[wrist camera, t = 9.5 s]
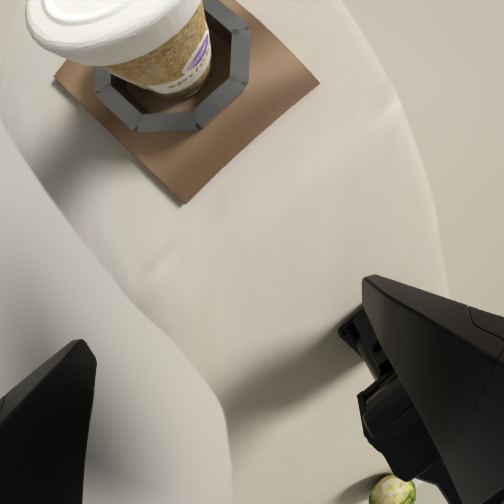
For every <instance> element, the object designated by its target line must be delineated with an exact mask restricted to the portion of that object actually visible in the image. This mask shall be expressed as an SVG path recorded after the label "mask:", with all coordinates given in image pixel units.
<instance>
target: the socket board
mask: <svg viewBox="0 0 504 504" xmlns="http://www.w3.org/2000/svg"><path fill="white" fill-rule="evenodd" d="M220 1H221V2H222V3H223V4H225V5H226V6H227V7H228V8H229V9H231V10H232V11H233V12H234V13H235V14H237V15H238V16H239V17H240V18H241V19H242V20H243V21H245V22H246V23H247V24H248V25H249V26H248V30H251V40H250V62H249V82H248V84H247V86H246V88H245V90H244V92H243V93H242V94H241V95H240V96H239V97H238V98H237V99H236V100H235V101H233V102H232V103H231V104H230V105H229V106H228V107H227V108H226V109H224V110H223V111H222V112H221V113H220V114H219V115H218V116H217V117H216V118H215V119H214V120H212V121H211V122H210V123H209V124H208V125H207V126H206V127H205V128H202V127H200V130H175V131H154V132H140V133H138V131H132V130H131V129H130V128H129V127H128V126H127V125H126V124H125V123H124V122H123V121H122V120H121V119H120V118H118V117H117V116H116V115H115V114H114V113H113V112H112V111H111V110H110V109H109V108H108V107H107V106H106V105H105V104H104V103H103V102H102V101H101V100H100V99H99V98H97V97H96V96H97V95H98V94H99V92H95V91H94V90H95V73H96V66H90V65H84V64H80V63H77V62H74V61H71V60H69V59H67V60H66V61H65V62H64V64H63V65H62V66H61V67H60V69H59V70H58V71H57V73H56V74H55V75H54V76H53V77H54V78H55V79H56V80H57V81H58V82H60V83H61V84H62V85H63V86H64V87H65V88H66V89H67V90H68V91H69V92H70V93H71V94H72V95H73V96H74V97H75V98H76V99H77V100H78V101H79V102H80V103H81V104H82V105H83V106H84V107H85V108H86V109H87V110H88V111H89V112H90V113H91V114H92V115H93V116H94V117H95V118H96V119H97V120H98V121H99V122H100V123H102V124H103V125H104V126H105V127H106V128H107V129H108V130H109V131H110V132H111V133H112V134H113V135H114V136H115V137H116V138H117V139H118V140H119V141H120V142H121V143H122V144H123V145H124V146H125V147H126V148H127V149H128V150H130V151H131V152H132V153H133V154H134V155H135V156H136V157H137V158H138V159H139V160H140V161H141V162H142V163H143V164H144V165H145V166H146V167H147V168H148V169H149V170H150V171H151V172H152V173H154V174H155V175H156V176H157V177H158V178H159V179H160V180H161V181H162V182H163V183H164V184H165V185H166V186H167V187H168V188H169V189H170V190H171V191H172V192H173V193H175V194H176V195H177V196H178V197H179V198H180V199H181V200H182V201H183V202H184V203H185V204H187V203H188V202H189V201H190V200H191V199H192V198H193V197H194V196H195V195H196V194H197V193H198V192H199V191H200V190H201V189H202V188H203V187H204V186H205V185H206V184H207V183H208V182H209V181H210V180H211V179H212V178H213V177H214V176H215V175H216V174H217V173H218V172H219V171H220V170H221V169H222V168H223V167H224V166H225V165H227V164H228V163H229V162H230V161H231V160H232V159H233V158H234V157H235V156H236V155H237V154H238V153H239V152H240V151H242V150H243V149H244V148H245V147H246V146H247V145H248V144H249V143H250V142H251V141H253V140H254V139H255V138H256V137H257V136H258V135H259V134H260V133H262V132H263V131H264V130H265V129H266V128H267V127H268V126H270V125H271V124H272V123H273V122H274V121H275V120H276V119H278V118H279V117H280V116H281V115H282V114H284V113H285V112H286V111H287V110H288V109H289V108H291V107H292V106H293V105H294V104H295V103H297V102H298V101H299V100H300V99H302V98H303V97H304V96H305V95H306V94H308V93H309V92H310V91H311V90H313V89H314V88H315V87H316V86H318V85H319V84H320V83H319V81H318V80H317V79H316V78H315V77H314V76H313V75H312V74H311V72H310V71H309V70H308V69H307V68H306V67H305V66H304V65H303V64H302V63H301V62H300V60H299V59H298V58H297V57H296V56H295V55H294V54H293V53H292V52H291V51H290V50H289V49H288V48H287V47H286V46H285V45H284V44H283V43H282V42H281V41H280V40H279V39H278V38H277V37H276V36H275V35H274V34H273V33H272V32H271V31H270V30H268V29H267V28H266V27H265V26H264V25H263V24H262V23H261V22H260V21H259V20H258V19H256V18H255V17H254V16H253V15H252V14H251V13H250V12H248V11H247V10H246V9H245V8H244V7H243V6H241V5H240V4H239V3H238V2H237V1H235V0H220ZM207 27H208V26H207ZM208 31H209V38H210V45H211V53H212V57H213V71H212V75H211V77H210V79H209V81H208V83H207V84H206V85H205V86H204V87H203V88H202V89H201V90H200V91H199V92H197V93H196V94H194V95H192V96H190V97H188V98H184V99H179V100H167V99H163V98H161V97H158V96H157V95H155V94H153V93H152V92H151V91H150V90H149V89H144V88H142V87H139V86H137V85H135V84H133V83H131V82H128V81H127V87H126V91H127V92H128V93H130V94H131V95H132V96H133V97H134V98H135V99H136V100H137V101H138V102H139V103H140V104H141V105H142V106H143V107H145V108H146V109H147V110H148V111H149V112H150V113H151V114H156V113H174V112H192V111H193V110H194V109H195V108H196V107H197V106H198V105H200V104H201V103H202V102H203V101H204V100H205V99H206V98H207V97H208V96H209V95H210V94H212V93H213V92H214V91H215V90H216V89H217V88H218V87H219V86H221V85H222V84H223V83H224V82H225V81H226V80H228V79H229V65H230V46H229V45H228V44H227V43H226V42H225V41H224V40H222V39H221V38H220V37H219V36H218V35H217V34H216V33H215V32H213V31H212V30H211V29H210V28H209V27H208Z"/></svg>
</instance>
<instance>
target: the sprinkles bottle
mask: <svg viewBox="0 0 504 504" xmlns="http://www.w3.org/2000/svg"><path fill="white" fill-rule="evenodd" d="M25 18H26V25H27V28H28V31H29V33H30V35H31V36H32V38H33V39H34V40H35V41H36V43H37V44H38V45H40V46H41V47H43V48H44V49H46V50H48V51H50V52H52V53H54V54H56V55H59V56H61V57H64V58H66V59H69V60H71V61H74V62H77V63H80V64H84V65H90V66H101V67H104V68H105V69H106V70H108V71H109V72H110V73H112V74H114V75H115V76H117V77H120V78H122V79H124V80H126V81H128V82H131V83H133V84H135V85H137V86H139V87H142V88H144V89H149V90H150V91H151V92H152V93H153V94H155V95H157V96H158V97H161V98H163V99H167V100H179V99H184V98H188V97H190V96H192V95H194V94H196V93H197V92H199V91H200V90H201V89H202V88H203V87H204V86H205V85H206V84H207V83H208V81H209V79H210V77H211V75H212V71H213V57H212V53H211V45H210V38H209V31H208V27H207V24H206V21H205V13H204V8H203V2H202V0H27V2H26V8H25Z"/></svg>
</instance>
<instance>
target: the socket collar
mask: <svg viewBox="0 0 504 504" xmlns="http://www.w3.org/2000/svg"><path fill="white" fill-rule="evenodd" d="M202 2H203V8H204V13H205V21H206V24H207V26H208V27H209V28H210V29H211V30H212V31H213V32H215V33H216V34H217V35H218V36H219V37H220V38H221V39H222V40H224V41H225V42H226V43H227V44H228V45H229V46H230V65H229V79H228V80H226V81H225V82H224V83H223V84H222V85H221V86H219V87H218V88H217V89H216V90H215V91H214V92H213V93H212V94H210V95H209V96H208V97H207V98H206V99H205V100H204V101H203V102H202V103H201V104H200V105H198V106H197V107H196V108H195V109H194V110H193V111H192V112H174V113H156V114H151V113H150V112H149V111H148V110H147V109H146V108H145V107H143V106H142V105H141V104H140V103H139V102H138V101H137V100H136V99H135V98H134V97H133V96H132V95H131V94H130V93H128V92H127V91H126V87H127V81H126V80H124V79H122V78H120V77H117V76H115V75H114V74H112V73H110V72H109V71H108V70H106V69H105V68H104V67H101V66H96V73H95V90H94V91H95V92H99V94H98V95H97V96H96V97H97V98H99V99H100V100H101V101H102V102H103V103H104V104H105V105H106V106H107V107H108V108H109V109H110V110H111V111H112V112H113V113H114V114H115V115H116V116H117V117H118V118H120V119H121V120H122V121H123V122H124V123H125V124H126V125H127V126H128V127H129V128H130V129H131V130H132V131H138V133H140V132H154V131H175V130H200V127H202V128H205V127H206V126H207V125H208V124H209V123H210V122H211V121H212V120H214V119H215V118H216V117H217V116H218V115H219V114H220V113H221V112H222V111H223V110H224V109H226V108H227V107H228V106H229V105H230V104H231V103H232V102H233V101H235V100H236V99H237V98H238V97H239V96H240V95H241V94H242V93H243V92H244V90H245V88H246V86H247V84H248V82H249V62H250V40H251V30H248V26H249V25H248V24H247V23H246V22H245V21H243V20H242V19H241V18H240V17H239V16H238V15H237V14H235V13H234V12H233V11H232V10H231V9H229V8H228V7H227V6H226V5H225V4H223V3H222V2H221V1H220V0H202Z"/></svg>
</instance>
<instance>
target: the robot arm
mask: <svg viewBox="0 0 504 504" xmlns="http://www.w3.org/2000/svg"><path fill="white" fill-rule="evenodd" d="M362 302H363V307H364V309H363V310H362V311H360V312H359V313H358V314H357V315H355V316H354V317H353V318H352V319H351V320H349V321H348V322H347V323H346V324H344V325H343V326H342V327H341V328H339V330H338V334H339V335H340V337H341V338H342V339H343V340H344V341H345V342H346V343H347V344H348V345H349V346H351V347H352V348H353V349H354V350H355V351H356V352H357V353H358V354H359V355H360V356H361V357H362V358H363V359H364V361H365V363H366V365H367V367H368V368H369V370H370V372H371V374H372V376H373V378H374V379H375V382H374V383H372V384H371V385H370V386H369V387H368V388H366V389H365V390H364V391H361V392H360V393H359V394H358V395H357V398H358V404H359V410H360V415H361V421H362V427H363V432H364V436H365V437H366V438H367V440H368V442H369V443H370V444H371V445H372V446H373V447H374V448H375V449H376V450H377V451H379V452H380V453H382V454H383V456H384V457H385V459H386V461H387V462H388V464H389V466H390V468H391V470H392V472H393V474H394V475H395V476H396V477H397V478H399V479H401V480H402V481H404V482H409V481H411V480H412V479H414V478H416V479H419V480H422V481H425V482H428V483H431V484H434V485H436V486H437V487H438V488H439V490H440V491H441V492H442V494H443V496H444V497H445V499H446V500H447V502H448V504H504V317H502V316H498V315H494V314H492V313H489V312H485V311H482V310H479V309H477V308H474V307H471V306H469V307H468V306H467V305H465V304H462V303H459V302H456V301H453V300H450V299H447V298H445V297H442V296H439V295H436V294H433V293H430V292H427V291H424V290H421V289H418V288H415V287H412V286H409V285H406V284H403V283H400V282H397V281H394V280H391V279H388V278H385V277H382V276H379V275H370V276H367V277H364V278H363V279H362ZM343 331H345V332H343ZM342 332H343V333H342ZM96 366H97V361H96V358H95V356H94V354H93V353H92V351H91V350H90V348H89V346H88V345H87V343H86V342H85V341H84V340H82V339H78V340H73V341H71V342H70V343H69V344H67V345H66V346H65V347H64V348H62V349H61V350H60V351H58V352H57V353H56V354H55V355H53V356H52V357H51V358H50V359H49V360H47V361H46V362H45V363H43V364H42V365H41V366H40V367H38V368H37V369H36V370H35V371H34V372H32V373H31V374H30V375H29V376H27V377H26V378H25V379H24V380H22V381H21V382H20V383H19V384H18V385H16V386H15V387H14V388H13V389H12V390H11V391H9V392H8V393H7V394H6V395H5V396H3V397H2V398H1V399H0V504H82V498H83V480H84V468H85V458H86V448H87V440H88V432H89V426H90V419H91V413H92V406H93V398H94V386H95V375H96Z"/></svg>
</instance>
